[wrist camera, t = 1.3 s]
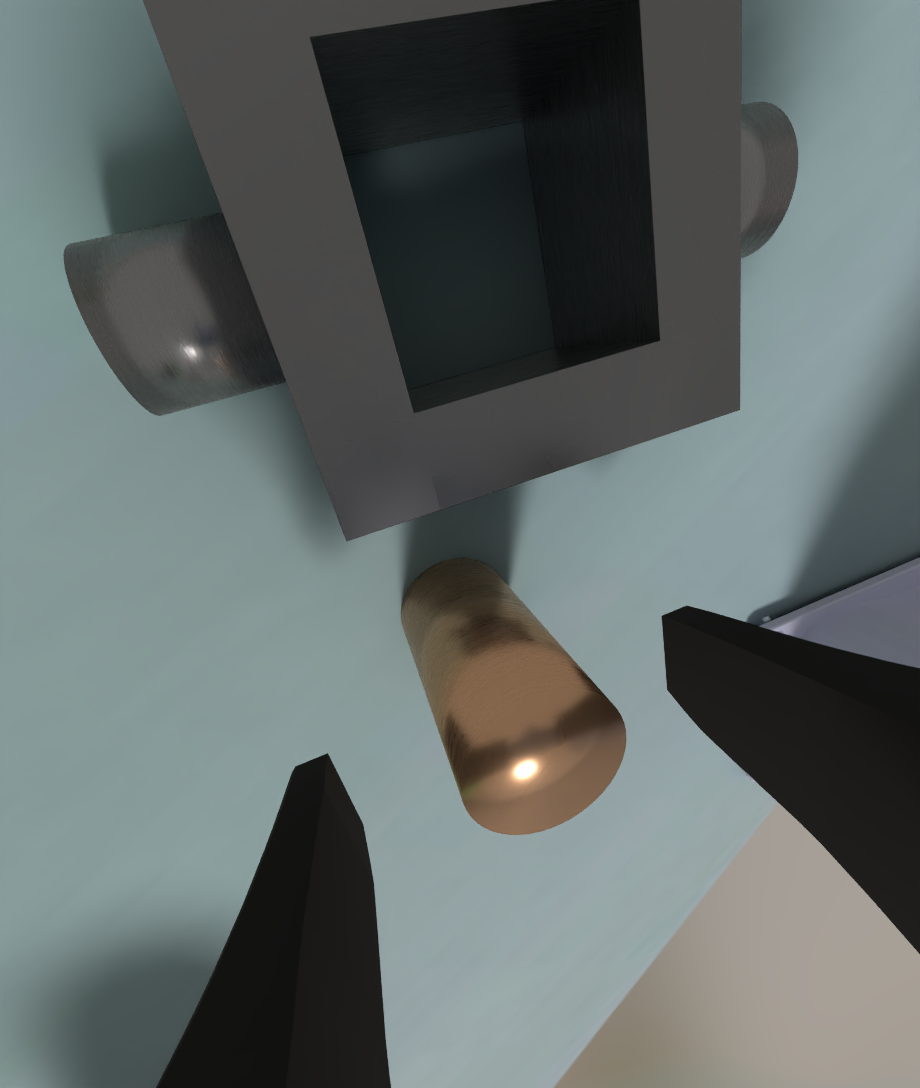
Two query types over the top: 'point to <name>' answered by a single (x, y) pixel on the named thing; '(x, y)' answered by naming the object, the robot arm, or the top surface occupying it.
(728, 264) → the valve body
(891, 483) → the top surface
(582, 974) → the top surface
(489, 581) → the tapered valve plug
